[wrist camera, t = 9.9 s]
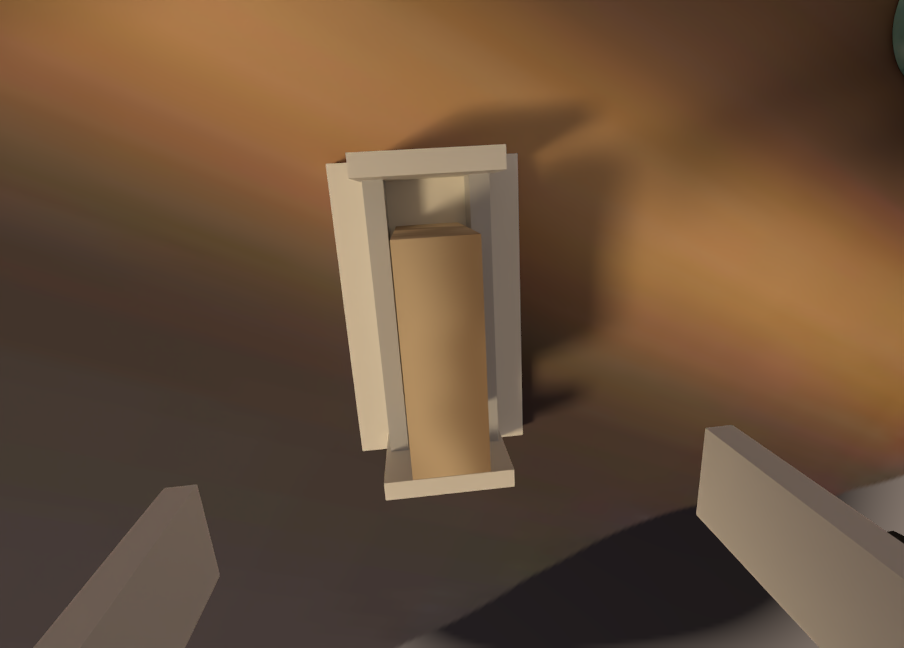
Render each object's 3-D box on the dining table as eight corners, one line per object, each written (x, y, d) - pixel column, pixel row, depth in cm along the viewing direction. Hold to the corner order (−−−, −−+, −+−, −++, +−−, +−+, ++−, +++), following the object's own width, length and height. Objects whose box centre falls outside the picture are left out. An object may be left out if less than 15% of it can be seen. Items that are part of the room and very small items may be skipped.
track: (364, 442, 34) (352, 504, 27) (328, 165, 29) (303, 154, 22) (519, 427, 35) (545, 482, 28) (513, 154, 30) (545, 141, 23)
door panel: (411, 396, 32) (412, 480, 23) (396, 226, 29) (389, 240, 19) (466, 391, 33) (490, 471, 23) (457, 222, 29) (481, 234, 20)
